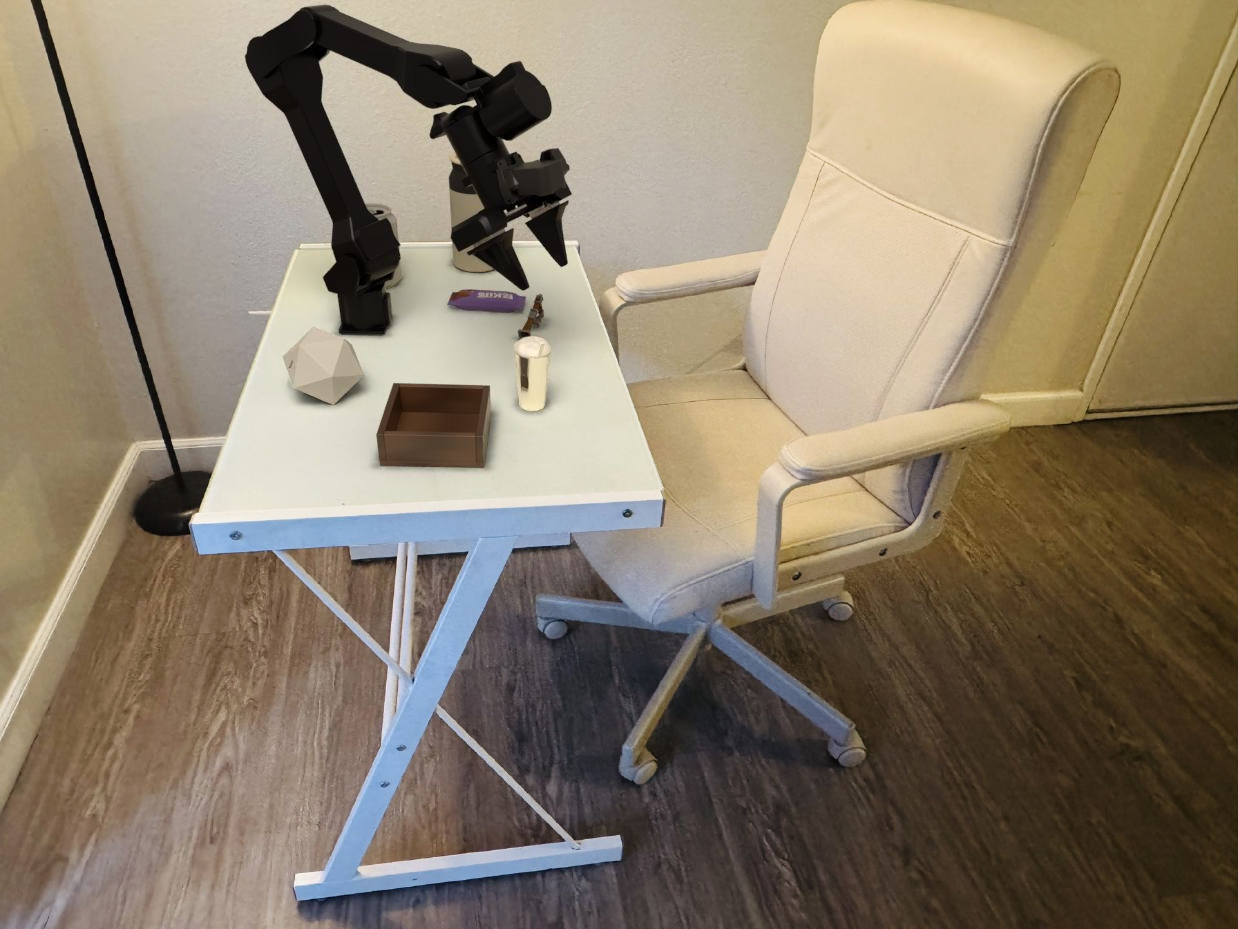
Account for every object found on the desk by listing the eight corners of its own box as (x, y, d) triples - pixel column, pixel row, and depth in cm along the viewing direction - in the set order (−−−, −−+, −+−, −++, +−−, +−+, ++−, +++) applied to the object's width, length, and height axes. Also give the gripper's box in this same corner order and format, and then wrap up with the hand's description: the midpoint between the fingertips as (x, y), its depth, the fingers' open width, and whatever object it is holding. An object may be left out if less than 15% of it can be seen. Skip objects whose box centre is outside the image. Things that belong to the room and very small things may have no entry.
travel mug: (447, 270, 145) (440, 160, 134) (461, 253, 151) (456, 147, 141) (493, 275, 144) (490, 165, 134) (505, 258, 150) (504, 152, 140)
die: (307, 377, 114) (259, 339, 105) (365, 343, 113) (321, 301, 104) (325, 426, 110) (276, 391, 101) (385, 391, 109) (341, 352, 100)
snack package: (526, 290, 135) (522, 304, 131) (526, 302, 136) (523, 315, 132) (452, 286, 135) (446, 299, 130) (452, 297, 136) (447, 311, 132)
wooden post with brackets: (549, 312, 131) (546, 291, 127) (533, 352, 127) (529, 331, 123) (538, 310, 131) (534, 289, 128) (521, 350, 127) (517, 329, 123)
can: (396, 292, 136) (389, 217, 129) (348, 290, 136) (339, 214, 129) (406, 274, 142) (400, 202, 135) (360, 272, 142) (352, 199, 135)
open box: (379, 465, 97) (376, 434, 95) (396, 412, 107) (393, 382, 104) (483, 467, 98) (482, 436, 96) (491, 414, 107) (490, 385, 105)
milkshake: (525, 420, 107) (524, 347, 101) (508, 400, 111) (507, 328, 105) (558, 413, 109) (560, 341, 103) (541, 393, 112) (542, 323, 107)
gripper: (486, 144, 91) (555, 279, 95) (573, 113, 105) (630, 232, 109) (419, 186, 98) (486, 311, 102) (509, 152, 112) (565, 262, 116)
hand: (546, 277), depth 107 cm, fingers open, 9 cm apart
